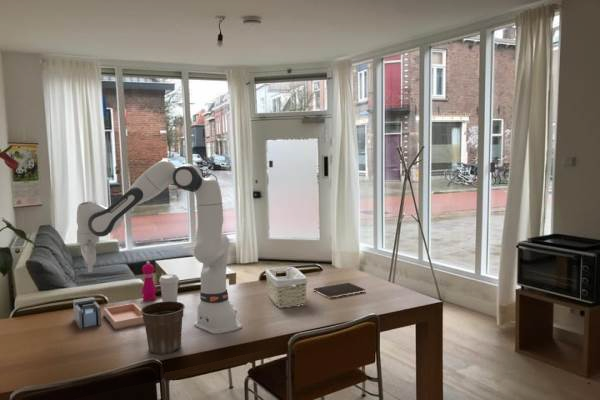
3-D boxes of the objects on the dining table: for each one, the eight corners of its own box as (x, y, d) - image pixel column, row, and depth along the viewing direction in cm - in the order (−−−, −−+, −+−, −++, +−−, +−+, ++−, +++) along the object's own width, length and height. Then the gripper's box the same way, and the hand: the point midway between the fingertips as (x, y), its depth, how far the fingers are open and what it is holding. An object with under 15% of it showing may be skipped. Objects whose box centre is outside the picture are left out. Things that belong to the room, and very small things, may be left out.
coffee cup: (168, 310, 231) (167, 279, 230) (155, 306, 237) (154, 276, 235) (183, 305, 239) (183, 275, 237) (171, 301, 245) (170, 272, 243)
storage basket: (308, 306, 236) (308, 277, 234) (276, 310, 231) (275, 280, 230) (294, 293, 258) (294, 266, 257) (264, 296, 254) (264, 268, 252)
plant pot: (144, 360, 176) (142, 317, 175) (140, 344, 191) (138, 304, 189) (189, 352, 183) (188, 311, 181) (182, 337, 197) (180, 299, 196)
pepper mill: (152, 301, 245) (150, 263, 243) (139, 300, 246) (137, 262, 244) (159, 297, 252) (157, 259, 250) (146, 296, 253) (145, 259, 251)
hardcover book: (365, 293, 258) (365, 289, 258) (328, 300, 248) (328, 295, 247) (348, 286, 272) (348, 282, 272) (313, 292, 262) (313, 288, 261)
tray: (148, 323, 214) (147, 315, 214) (115, 329, 206) (115, 321, 206) (134, 309, 232) (134, 302, 232) (103, 315, 225) (103, 308, 224)
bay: (101, 324, 213) (100, 304, 212) (79, 328, 208) (78, 308, 207) (94, 315, 225) (93, 296, 224) (74, 319, 220) (73, 300, 219)
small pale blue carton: (96, 325, 213) (95, 304, 212) (84, 327, 210) (83, 306, 209) (90, 317, 222) (89, 297, 222) (78, 319, 220) (77, 299, 219)
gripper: (99, 242, 202) (100, 274, 204) (92, 233, 220) (93, 263, 221) (83, 243, 199) (83, 276, 200) (77, 234, 216) (78, 264, 218)
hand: (88, 269), depth 211 cm, fingers open, 8 cm apart
